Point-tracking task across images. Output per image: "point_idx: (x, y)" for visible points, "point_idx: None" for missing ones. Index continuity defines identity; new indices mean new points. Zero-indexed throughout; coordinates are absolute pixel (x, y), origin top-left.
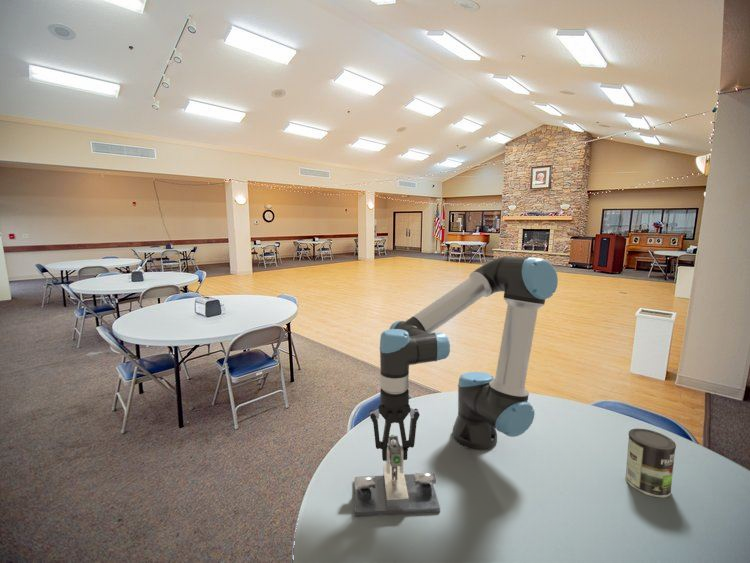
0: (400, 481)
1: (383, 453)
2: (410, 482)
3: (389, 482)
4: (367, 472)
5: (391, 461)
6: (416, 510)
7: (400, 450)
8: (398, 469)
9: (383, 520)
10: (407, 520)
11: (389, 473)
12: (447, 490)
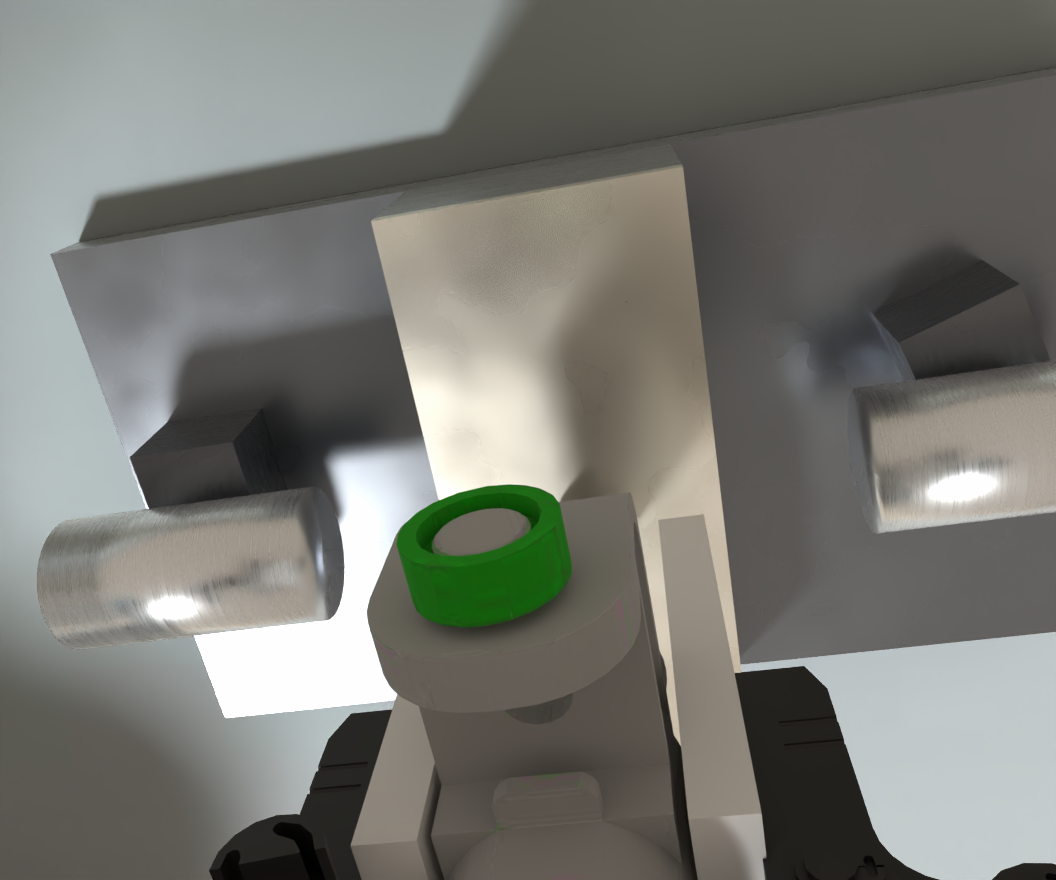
0: None
1: (831, 784)
2: None
3: (656, 476)
4: (907, 718)
5: (629, 542)
6: (319, 203)
7: (422, 854)
8: None
9: (706, 44)
10: (421, 79)
11: (662, 521)
12: (45, 536)
